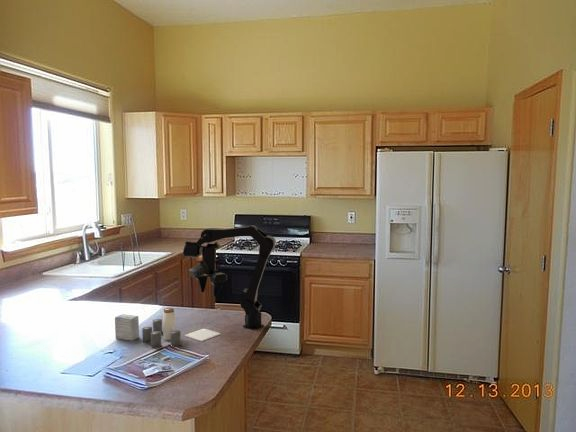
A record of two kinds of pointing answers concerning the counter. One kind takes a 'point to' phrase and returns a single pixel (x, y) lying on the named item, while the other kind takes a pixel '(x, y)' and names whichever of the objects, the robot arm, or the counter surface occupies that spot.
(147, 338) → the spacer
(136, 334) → the medicine box
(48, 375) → the counter surface
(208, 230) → the robot arm
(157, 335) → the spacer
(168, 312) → the jar
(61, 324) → the counter surface
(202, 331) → the mat
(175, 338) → the spacer
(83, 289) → the counter surface
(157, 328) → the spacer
